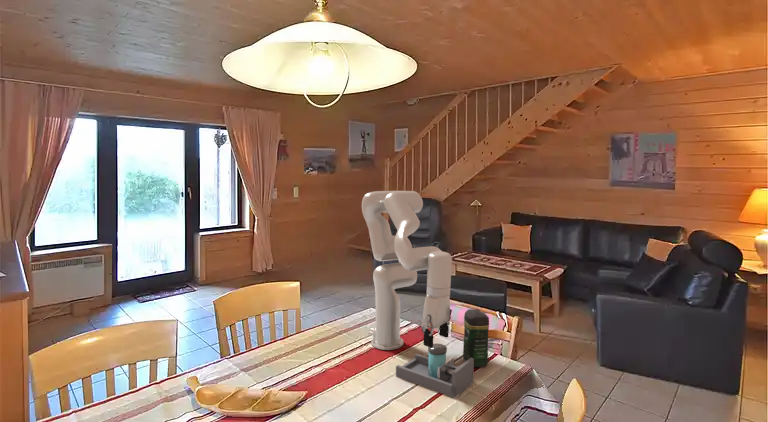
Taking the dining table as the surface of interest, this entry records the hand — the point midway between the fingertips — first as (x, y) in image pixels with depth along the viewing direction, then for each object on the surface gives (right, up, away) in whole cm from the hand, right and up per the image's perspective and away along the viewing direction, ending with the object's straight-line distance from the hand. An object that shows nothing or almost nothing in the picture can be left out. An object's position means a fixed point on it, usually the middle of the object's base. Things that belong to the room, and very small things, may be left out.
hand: (436, 341), depth 143 cm
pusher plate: (+4, -12, -2) cm, 13 cm away
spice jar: (0, -12, +1) cm, 12 cm away
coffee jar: (+16, -12, +14) cm, 24 cm away
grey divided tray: (-1, -13, +1) cm, 13 cm away
